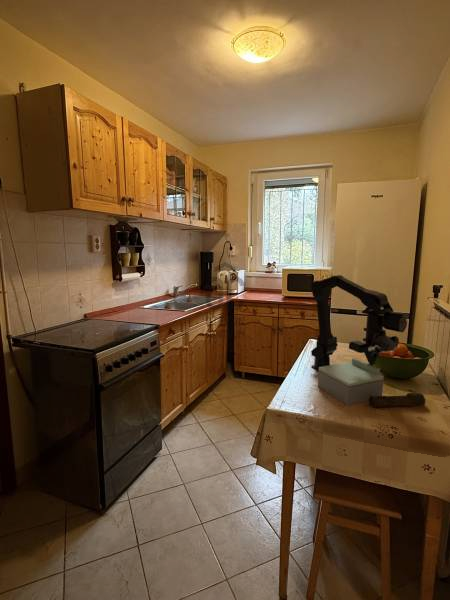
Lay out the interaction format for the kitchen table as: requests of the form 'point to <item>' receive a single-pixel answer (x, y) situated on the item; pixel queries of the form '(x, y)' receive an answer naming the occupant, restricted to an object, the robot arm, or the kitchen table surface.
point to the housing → (349, 389)
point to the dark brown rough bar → (398, 400)
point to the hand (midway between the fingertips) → (371, 365)
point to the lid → (353, 372)
